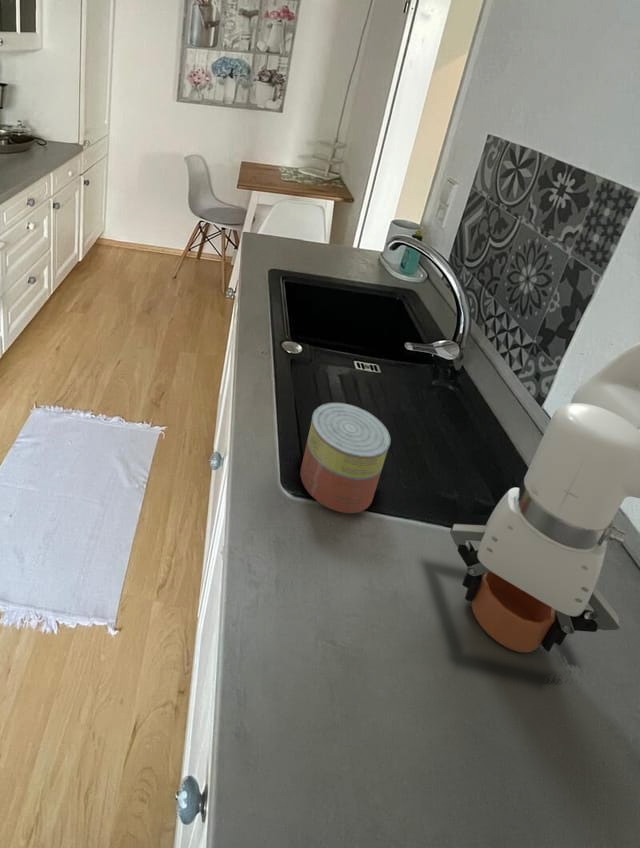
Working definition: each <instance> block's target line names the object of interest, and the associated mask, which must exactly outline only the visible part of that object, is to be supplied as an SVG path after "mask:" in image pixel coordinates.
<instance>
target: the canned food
mask: <svg viewBox="0 0 640 848" xmlns="http://www.w3.org/2000/svg"><path fill="white" fill-rule="evenodd" d="M391 440H392V439H391V434H390V433H389V430H388V428H387V427H386V426H385V424H383V422H382V421H381V420H380V419H379V418H378V417H376V416H375V415H373V414H372V413H370V412H369V411H367V410H365V409H363V408H361V407H359V406H357V405H352V404H349V403H344V402H328V403H323V404H321V405H319V406H318V407H316V408H315V409H314V410H313V412H312V414H311V421H310V427H309V432H308V436H307V439H306V444H305V448H304V453H303V458H302V461H301V467H300V472H299V473H300V480H301V483H302V485H303V486H304V488H305V490H306V491H307V493H308V494H309V495H310V496H311V497H312V498H313V499H314V500H315V501H316V502H318V503H320V504H321V505H323V506H324V507H326V508H328V509H330V510H333V511H335V512H340V513H345V514H356V513H360V512H363V511H366V509H368V508H369V507H370V506H371V504H372V503H373V499H374V496H375V493H376V489H377V486H378V483H379V479H380V476H381V474H382V470H383V468H384V464H385V460H386V457H387V453H388V450H389V448H390V446H391V443H392V442H391Z"/></svg>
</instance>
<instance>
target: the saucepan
mask: <svg viewBox="0 0 640 848" xmlns="http://www.w3.org/2000/svg"><path fill="white" fill-rule="evenodd" d="M470 603H471V609H472V612H473V615H474V617H475V619H476V621H477V622H478V623H479V625H480V626H481V628H482V629H483V631H485V632H486V633H487V634H488V635H489V637H491V638H492V639H493V640H495V641H496V642H497V643H499V644H500V645H502V646H504V647H505V648H507V649H510V650H512V651H515V652H519V653H531V652H534V651H535V650H537V649H538V648H539V647H540V646H542V642H543V640H544V639H545V637H546V635H547V633H548V632H549V630H550V628H551V626H552V625H553V623H554V620H555V609H554V608H552V607H550V606H548V605H547V604H545V603H543V602H542V601H540V600H538V599H536V598H535V597H533V596H531V595H530V594H528V593H526V592H525V591H523V590H521V589H519V588H518V587H516V586H514V585H513V584H511V583H509V582H508V581H506V580H504V579H503V578H501V577H500V576H498V575H496V574H495V573H493V572H489V573H485V574H483V575H482V579H481V582H480V585H479V587H478V589H477V591H476V594H475V596H474V598H473V600H472V602H471V601H470Z"/></svg>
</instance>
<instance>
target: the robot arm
mask: <svg viewBox="0 0 640 848" xmlns="http://www.w3.org/2000/svg"><path fill="white" fill-rule="evenodd" d="M629 497H630V498H631V497H632V498H636V499H640V342H637V343H635V344H632V345H630V346H629V347H626V348H625V349H623V350H622V351H620V352H619V353H618V354H616V355H615V356H614V357H612V358H611V359H609V361H607V362H606V363H604V364H603V365H602V366H601V367H600V368H598V369H597V370H596V371H595V372H593V374H591V375H590V376H589V377H588V378H586V379H585V380H584V381H583V382H582V383H581V385H580V386H579V387H578V388H577V389H576V391H575V393H574V394H573V396H572V398H571V401H570V403H566V404H563V405H561V406H560V407H558V408H557V409H556V410H555V411H554V413H553V415H552V416H551V418H550V421H549V423H548V425H547V426H546V429H545V431H544V434H543V436H542V438H541V440H540V442H539V445H538V447H537V449H536V451H535V453H534V456H533V458H532V460H531V462H530V464H529V467H528V469H527V471H526V474H525V476H524V477H523V480H522V482H521V484H520V486H519V487H511V488H510V489H508V490H507V491H506V492H505V494H504V495H503V496H502V497H501V499H500V500H499V502H497V504H496V506H495V508H493V510H492V512H491V514H490V516H489V517H488V520H487V522H486V524H485V525H484V524H464V523H453V524H452V525H451V527H450V531H449V534H450V536H451V538H452V541H453V543H454V544H455V545H456V547H457V552H458V554H459V556H460V557H461V559H462V561H463V562H464V564H465V565H466V573H465V575H464V578H463V581H462V585H461V586H463V587H464V588H466V589H467V590H466V594H465V597H464V599H465V600H466V601H467V602H470V603H471V602H472V600H473V598H474V596H475V594H476V591H477V589H478V587H479V585H480V582H481V579H482V575H483V574H485V573H489V572H493V573H495V574H496V575H498V576H500V577H501V578H503V579H504V580H506V581H508V582H509V583H511V584H513V585H514V586H516V587H518V588H519V589H521V590H523V591H525V592H526V593H528V594H530V595H531V596H533V597H535V598H536V599H538V600H540V601H542V602H543V603H545V604H547V605H548V606H550V607H552V608H554V609H555V620H554V623H553V625H552V626H551V628H550V630H549V632H548V633H547V635H546V637H545V639H544V640H543V642H542V644H541V647H542V649H543V650H544V651H546V652H548V653H550V651H551V649H552V648H553V647H554V645H555V644H556V645H557V646H561V645H562V644H563V641H564V640H565V638H566V637H567V635H574V634H575V632H589V633H596V632H598V630H601V631H618V630H620V616H619V615H618V614H617V612H616V611H615V609H613V607H612V606H611V605H610V604H609V603H608V601H607V600H606V598H605V597H604V596H603V595H602V594H601V592H600V591H599V589H598V588H597V587H596V585H597V582H598V580H599V577H600V574H601V570H602V568H603V565H604V560H605V556H606V551H607V545H608V541H611V542H615V543H617V544H619V545H623V544H624V543H625V540H626V537H627V532H626V531H625V530H623V529H621V528H618V526H617V525H615V524H614V521H613V520H614V518H615V516H616V514H617V513H618V511H619V509H620V507H621V505H622V504H623V502H624V500H625V499H626V498H629ZM471 541H475V542H479V546H478V549H475V548H474V546H473V544H472V542H471ZM588 605H589V606H590V607H591V608H592V610H590V609H586V608H587V606H588Z"/></svg>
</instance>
